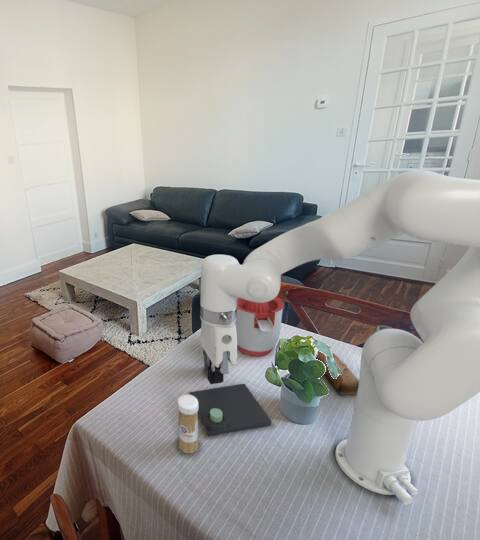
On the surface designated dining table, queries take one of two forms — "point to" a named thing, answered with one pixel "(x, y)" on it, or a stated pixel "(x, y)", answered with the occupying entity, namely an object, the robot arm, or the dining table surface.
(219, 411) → the tare button
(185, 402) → the sprinkles bottle
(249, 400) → the scale
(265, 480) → the dining table surface
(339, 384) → the brown leather shoe
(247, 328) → the citrus juicer
